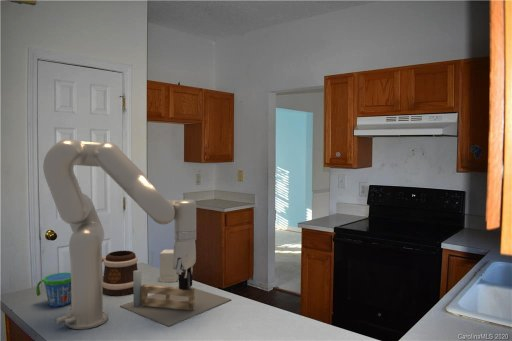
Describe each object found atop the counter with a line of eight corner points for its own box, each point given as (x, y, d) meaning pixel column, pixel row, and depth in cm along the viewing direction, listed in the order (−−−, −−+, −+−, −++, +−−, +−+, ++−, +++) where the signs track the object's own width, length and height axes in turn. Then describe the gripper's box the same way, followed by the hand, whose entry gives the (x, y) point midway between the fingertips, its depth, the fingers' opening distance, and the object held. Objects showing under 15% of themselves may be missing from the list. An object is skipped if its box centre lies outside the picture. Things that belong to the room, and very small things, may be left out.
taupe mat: (168, 326, 128) (168, 325, 128) (119, 306, 145) (119, 305, 145) (231, 300, 152) (231, 299, 152) (183, 285, 168) (183, 284, 168)
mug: (148, 286, 167) (147, 250, 167) (123, 298, 153) (123, 259, 153) (109, 281, 174) (109, 246, 174) (83, 292, 160) (82, 254, 160)
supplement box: (176, 282, 173) (176, 253, 172) (159, 282, 173) (159, 253, 173) (180, 277, 180) (180, 249, 180) (163, 276, 180) (163, 249, 180)
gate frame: (136, 308, 143) (136, 272, 142) (132, 307, 145) (131, 271, 144) (191, 289, 163) (191, 258, 163) (186, 288, 165) (186, 257, 165)
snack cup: (30, 309, 142) (30, 280, 142) (45, 298, 153) (45, 272, 152) (75, 309, 143) (74, 280, 142) (86, 298, 153) (86, 272, 153)
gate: (140, 306, 143) (140, 271, 142) (144, 303, 146) (144, 268, 145) (192, 311, 139) (192, 274, 138) (195, 307, 142) (195, 272, 141)
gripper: (184, 230, 148) (184, 279, 149) (164, 239, 133) (165, 294, 133) (203, 231, 147) (204, 281, 148) (186, 240, 131) (186, 296, 132)
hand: (185, 286), depth 140 cm, fingers closed on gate, 3 cm apart
